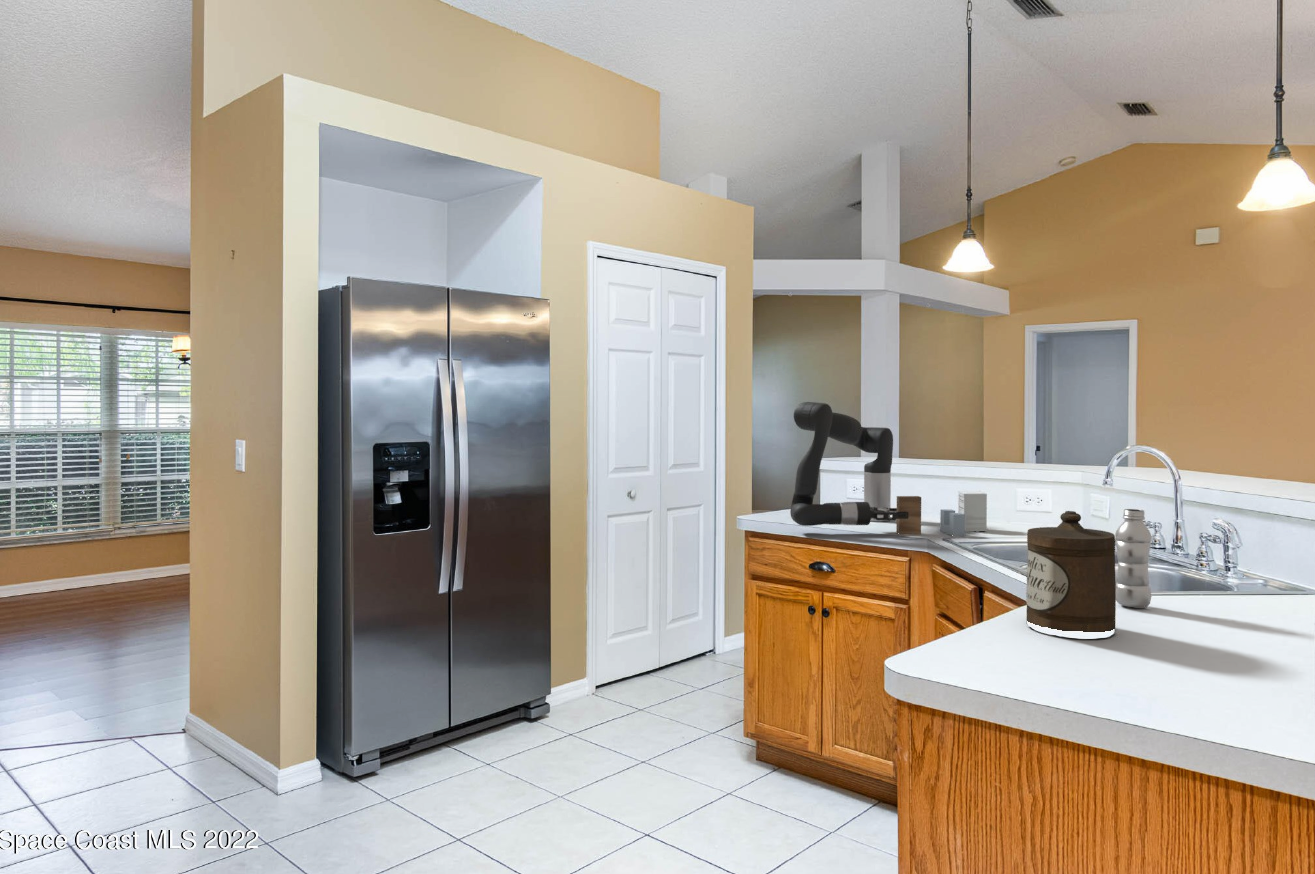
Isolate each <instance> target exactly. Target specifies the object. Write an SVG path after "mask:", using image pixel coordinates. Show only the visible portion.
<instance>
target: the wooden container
mask: <svg viewBox="0 0 1315 874" xmlns="http://www.w3.org/2000/svg"><path fill="white" fill-rule="evenodd" d="M1059 517H1060V520H1061V522H1060V524H1058V525H1057V526H1045V527H1044V526H1041V527H1040V526H1039V527H1032V528H1028V529H1027V534H1026V540H1027V541H1026V542H1027V563H1026V566H1027V567H1026V571H1027V572H1026V589H1025V590H1026V592H1025V594H1026V595H1025V596H1026V603H1025V604H1026V622H1027V621H1028V622H1030V623H1033V624H1035V625H1039V626H1041V627H1048V628H1051V629H1057V630H1062V631H1083V632H1105V631H1111V630H1113V629H1115V630H1116V611H1117V610H1116V608H1117V607H1116V605H1117V603H1116V602H1117V601H1116V583H1117V581H1116V553H1115V552H1116V539H1115V534H1114V533H1113V532H1110V531H1106V530H1101V529H1094V528H1093V529H1092V528H1084V527H1083V526H1082V525H1081V524H1080V522H1081V520H1082V516H1081V514H1080V513H1078V512H1076V511H1074V510H1065V512H1063V513H1061V514H1060V516H1059Z"/></svg>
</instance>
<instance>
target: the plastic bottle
mask: <svg viewBox="0 0 1315 874" xmlns="http://www.w3.org/2000/svg"><path fill="white" fill-rule="evenodd" d="M1122 519H1124V521H1123V522H1122V523H1121V524H1120V525H1119V526H1118V528H1117V529H1116V531H1115V534H1114V535H1115V547H1116V551H1117V560H1118V561H1117V574H1116V575H1117V576H1116V602H1117V604H1118V605H1121V606H1124V607H1127V608H1130V607H1136V608H1135V609H1138V608H1139V609H1140V608H1141V609H1142V608H1147V607H1149V605H1151V600H1152V597H1153V596H1152V591H1151V586H1150V579H1149V577H1150V576H1149V575H1150V574H1149V560H1150V559H1149V558H1150V552H1151V546H1152V533H1151V531H1150V530H1149V527H1147V525H1146V524H1145V523H1144V521H1145V519H1146V517H1145V510H1143V509H1135V508H1125V509H1123V516H1122Z"/></svg>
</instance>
